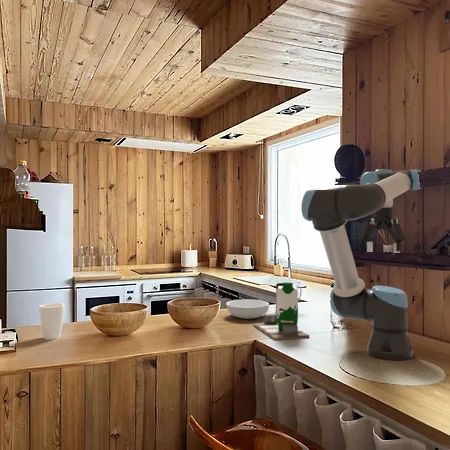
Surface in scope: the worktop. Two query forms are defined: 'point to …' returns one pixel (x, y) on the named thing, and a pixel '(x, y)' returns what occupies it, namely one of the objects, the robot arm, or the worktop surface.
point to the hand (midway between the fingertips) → (382, 258)
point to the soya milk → (287, 305)
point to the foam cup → (52, 319)
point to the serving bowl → (247, 308)
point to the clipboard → (273, 332)
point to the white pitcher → (276, 293)
